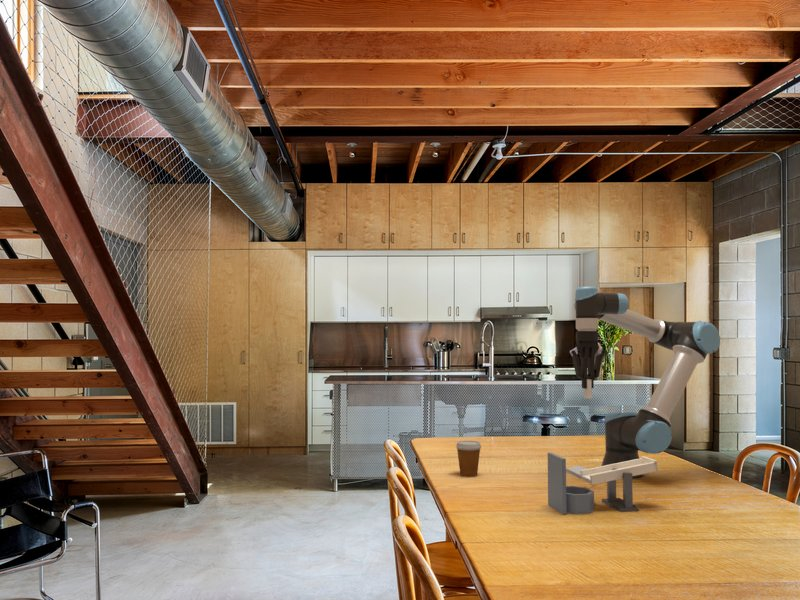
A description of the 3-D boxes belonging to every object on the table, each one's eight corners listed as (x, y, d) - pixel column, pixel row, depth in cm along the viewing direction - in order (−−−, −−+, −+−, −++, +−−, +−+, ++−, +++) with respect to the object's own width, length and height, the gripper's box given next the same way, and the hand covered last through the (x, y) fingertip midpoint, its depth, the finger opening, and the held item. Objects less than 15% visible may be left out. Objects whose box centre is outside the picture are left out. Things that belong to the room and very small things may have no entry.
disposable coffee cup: (480, 478, 226) (480, 445, 227) (454, 477, 228) (454, 444, 229) (482, 472, 236) (482, 440, 236) (457, 471, 238) (457, 440, 238)
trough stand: (619, 501, 196) (618, 465, 197) (638, 510, 185) (638, 473, 186) (601, 501, 195) (601, 466, 196) (620, 511, 184) (619, 474, 185)
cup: (582, 503, 194) (581, 451, 195) (599, 512, 183) (598, 457, 184) (547, 504, 191) (547, 452, 192) (563, 514, 181) (562, 459, 182)
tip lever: (626, 460, 207) (625, 450, 207) (658, 472, 189) (657, 460, 189) (566, 473, 202) (564, 462, 202) (593, 486, 185) (591, 474, 185)
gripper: (598, 330, 223) (599, 396, 222) (564, 330, 221) (565, 397, 219) (609, 330, 216) (610, 398, 215) (574, 330, 213) (575, 399, 212)
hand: (587, 397), depth 217 cm, fingers closed
